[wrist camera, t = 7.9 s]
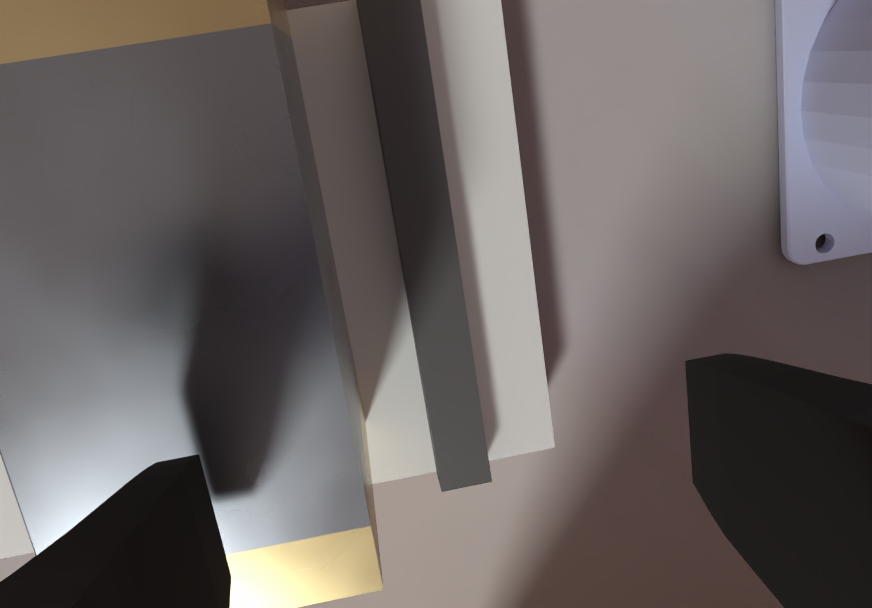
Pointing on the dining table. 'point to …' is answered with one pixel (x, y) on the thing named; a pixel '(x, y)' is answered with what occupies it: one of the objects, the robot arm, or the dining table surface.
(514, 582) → the dining table surface
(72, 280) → the housing
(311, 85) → the stand
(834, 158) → the robot arm
